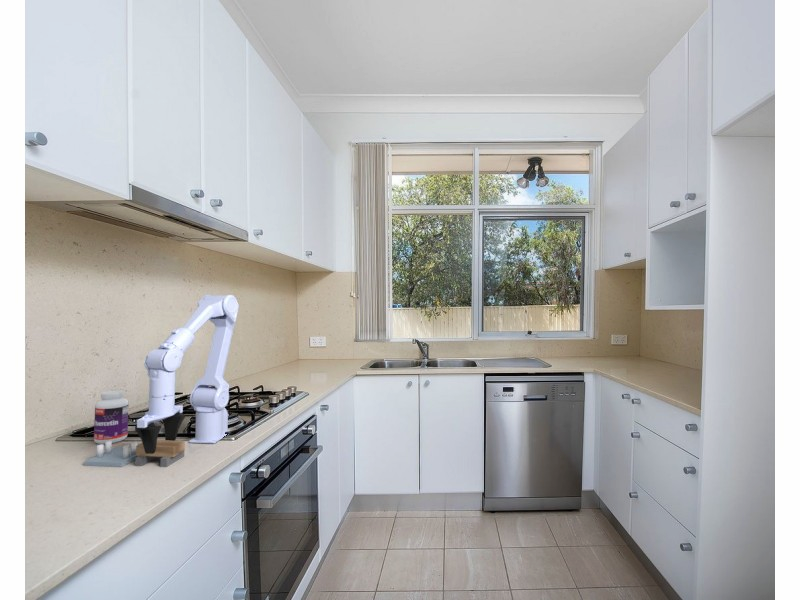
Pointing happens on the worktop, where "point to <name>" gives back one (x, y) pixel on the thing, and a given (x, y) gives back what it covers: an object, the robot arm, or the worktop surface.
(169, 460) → the board rack
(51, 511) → the worktop surface
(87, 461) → the peg base
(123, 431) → the pill bottle
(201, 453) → the worktop surface
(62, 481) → the worktop surface
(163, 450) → the shelf board
